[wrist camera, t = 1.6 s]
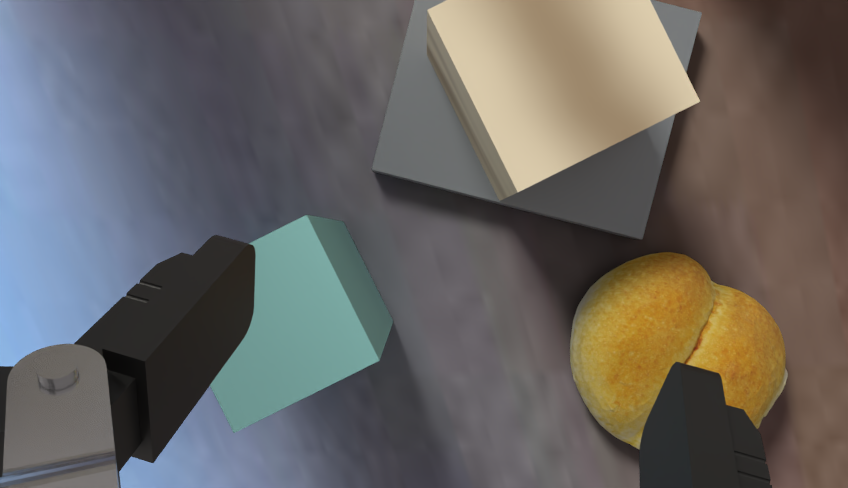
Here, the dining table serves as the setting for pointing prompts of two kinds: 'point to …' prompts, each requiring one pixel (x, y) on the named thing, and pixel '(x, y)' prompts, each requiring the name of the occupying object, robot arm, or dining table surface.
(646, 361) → the bread roll
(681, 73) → the base brick
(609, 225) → the plate
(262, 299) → the teal brick
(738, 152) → the dining table surface
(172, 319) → the robot arm
